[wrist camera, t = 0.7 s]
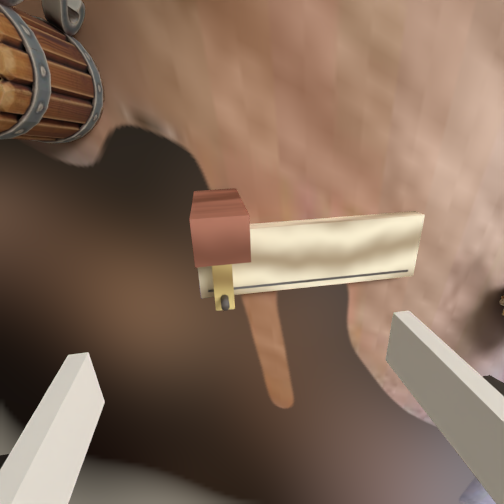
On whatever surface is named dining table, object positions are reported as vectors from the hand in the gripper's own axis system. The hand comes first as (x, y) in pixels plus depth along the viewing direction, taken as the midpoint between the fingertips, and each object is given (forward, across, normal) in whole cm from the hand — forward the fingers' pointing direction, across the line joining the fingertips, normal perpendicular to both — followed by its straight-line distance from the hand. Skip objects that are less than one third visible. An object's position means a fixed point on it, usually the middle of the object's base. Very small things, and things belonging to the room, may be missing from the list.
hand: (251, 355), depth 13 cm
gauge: (+26, -1, -5) cm, 27 cm away
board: (+26, +11, -7) cm, 30 cm away
